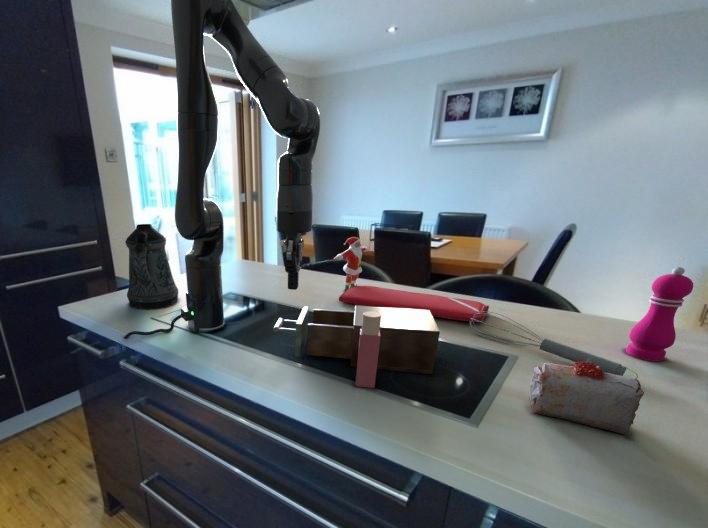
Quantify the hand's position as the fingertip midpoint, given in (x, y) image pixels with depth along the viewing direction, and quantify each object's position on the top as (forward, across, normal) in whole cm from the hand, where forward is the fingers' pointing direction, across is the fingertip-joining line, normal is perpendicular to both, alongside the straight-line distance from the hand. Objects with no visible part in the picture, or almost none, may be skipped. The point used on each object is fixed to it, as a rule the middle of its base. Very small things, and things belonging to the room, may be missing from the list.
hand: (293, 288), depth 88 cm
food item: (+15, +17, +51) cm, 56 cm away
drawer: (+14, 0, +7) cm, 15 cm away
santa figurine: (+15, -55, +12) cm, 58 cm away
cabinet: (+15, 0, +22) cm, 27 cm away
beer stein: (+15, -26, -50) cm, 59 cm away
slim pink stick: (+15, +14, +17) cm, 26 cm away
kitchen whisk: (+15, -10, +56) cm, 59 cm away
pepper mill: (+15, -13, +78) cm, 81 cm away
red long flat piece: (+15, -38, +30) cm, 51 cm away
